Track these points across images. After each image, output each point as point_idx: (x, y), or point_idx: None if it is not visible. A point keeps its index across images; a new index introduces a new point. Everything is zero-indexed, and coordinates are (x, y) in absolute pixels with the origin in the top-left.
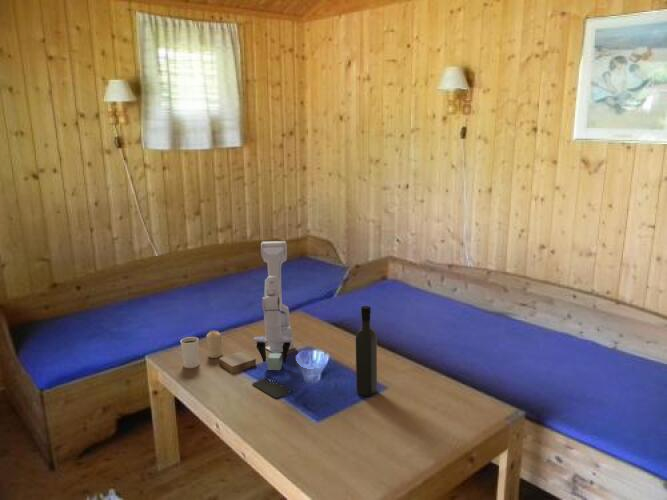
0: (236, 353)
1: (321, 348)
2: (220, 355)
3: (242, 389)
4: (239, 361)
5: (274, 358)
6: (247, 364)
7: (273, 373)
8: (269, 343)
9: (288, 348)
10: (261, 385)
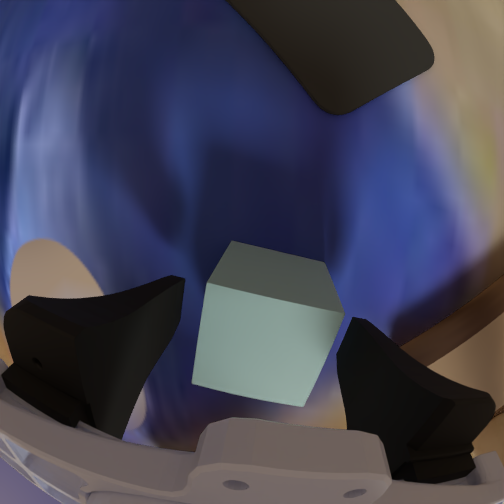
0: None
1: None
2: (485, 427)
3: (470, 32)
4: (492, 348)
5: (264, 294)
6: (450, 334)
7: (284, 200)
8: (374, 441)
9: (28, 297)
10: (372, 13)
